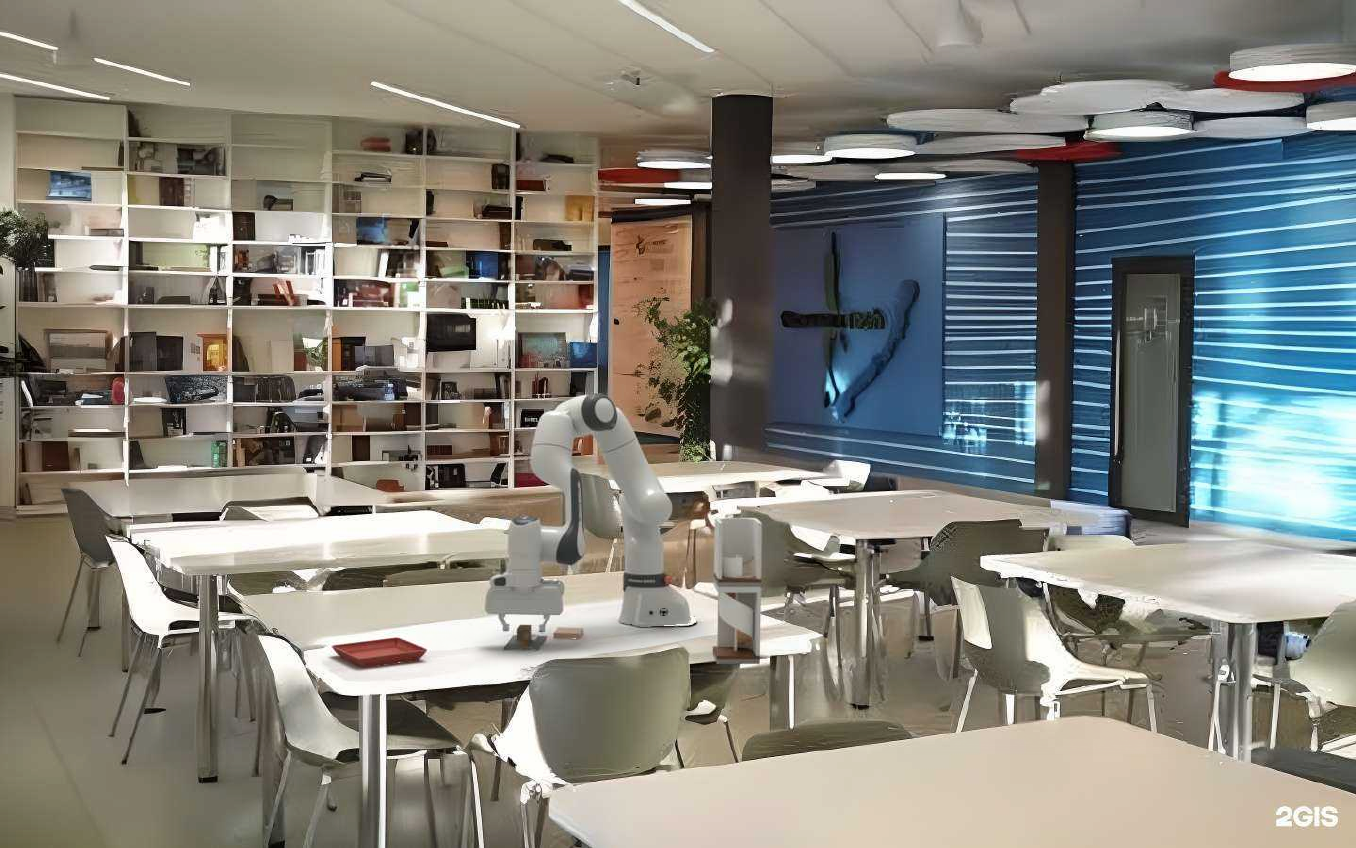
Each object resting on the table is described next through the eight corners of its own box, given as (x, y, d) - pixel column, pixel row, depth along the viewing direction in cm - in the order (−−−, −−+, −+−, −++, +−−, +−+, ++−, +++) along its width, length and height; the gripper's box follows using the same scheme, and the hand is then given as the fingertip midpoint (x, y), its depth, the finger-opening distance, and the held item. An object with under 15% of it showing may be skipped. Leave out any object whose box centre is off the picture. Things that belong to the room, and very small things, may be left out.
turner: (538, 636, 368) (538, 620, 368) (532, 646, 355) (532, 629, 355) (519, 636, 368) (520, 619, 368) (512, 646, 355) (512, 629, 355)
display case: (712, 654, 351) (714, 517, 350) (753, 654, 352) (756, 518, 351) (716, 664, 340) (719, 523, 339) (759, 664, 341) (762, 523, 339)
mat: (546, 638, 369) (546, 635, 369) (538, 650, 353) (538, 648, 353) (513, 637, 369) (513, 635, 369) (503, 649, 354) (503, 647, 353)
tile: (579, 641, 368) (583, 635, 376) (579, 633, 368) (583, 628, 376) (553, 640, 369) (557, 634, 377) (553, 632, 369) (557, 627, 377)
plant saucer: (358, 671, 328) (358, 657, 328) (330, 657, 343) (330, 644, 343) (428, 662, 339) (428, 649, 338) (398, 649, 353) (398, 637, 353)
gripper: (565, 577, 360) (565, 629, 361) (488, 576, 361) (487, 628, 361) (563, 581, 354) (562, 634, 354) (483, 579, 354) (483, 633, 355)
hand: (524, 631), depth 358 cm, fingers open, 8 cm apart
